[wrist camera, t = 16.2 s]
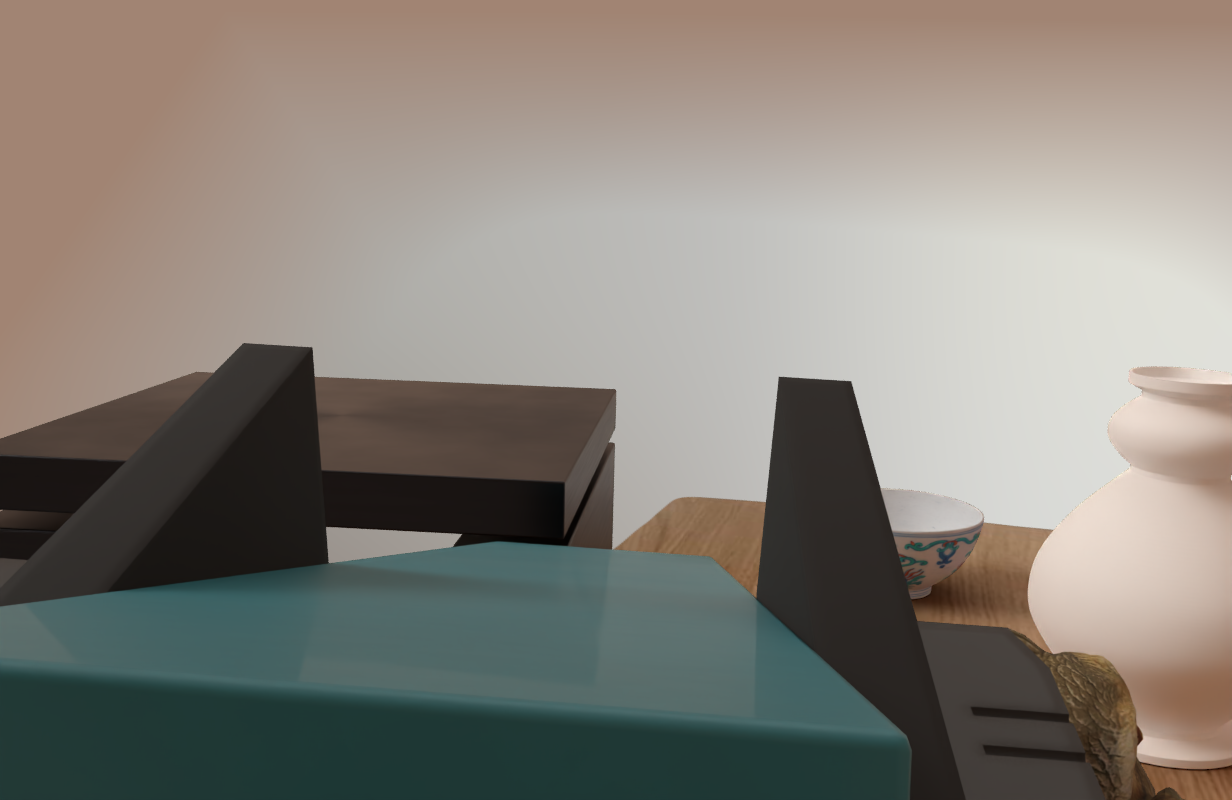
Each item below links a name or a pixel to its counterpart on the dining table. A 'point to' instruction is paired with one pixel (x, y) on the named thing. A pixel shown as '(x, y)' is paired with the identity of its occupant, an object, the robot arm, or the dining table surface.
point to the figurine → (1102, 722)
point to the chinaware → (930, 535)
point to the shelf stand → (365, 460)
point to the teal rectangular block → (436, 687)
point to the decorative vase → (1155, 567)
